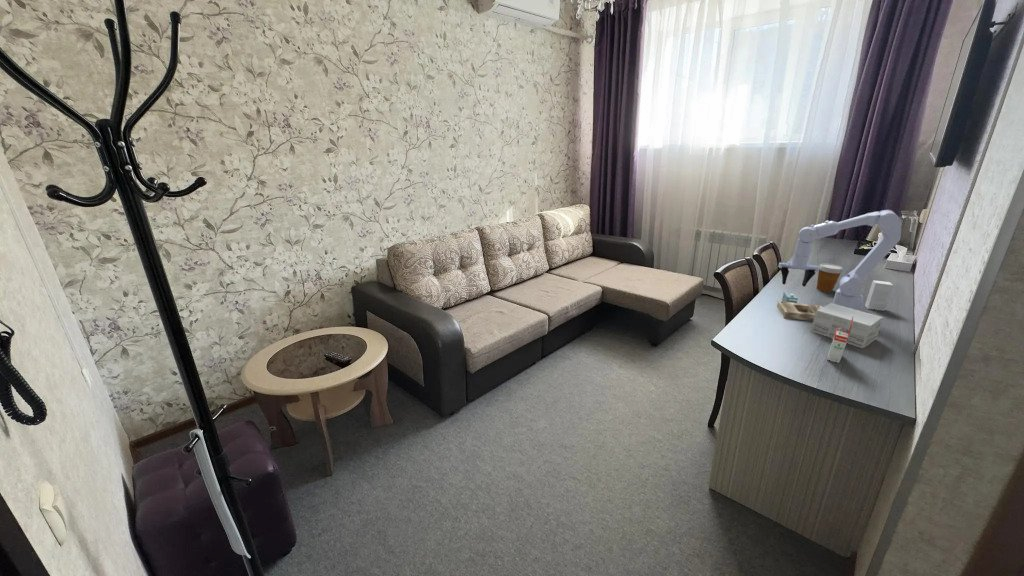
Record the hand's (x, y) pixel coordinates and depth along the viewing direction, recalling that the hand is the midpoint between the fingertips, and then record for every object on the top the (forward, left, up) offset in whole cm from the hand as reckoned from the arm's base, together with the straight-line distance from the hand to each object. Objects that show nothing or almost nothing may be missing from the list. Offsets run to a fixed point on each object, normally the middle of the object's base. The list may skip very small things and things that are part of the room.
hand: (793, 284), depth 182 cm
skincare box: (-34, -6, -9) cm, 36 cm away
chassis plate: (-2, +12, -9) cm, 15 cm away
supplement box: (-11, +29, -9) cm, 32 cm away
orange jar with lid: (-21, -25, -9) cm, 34 cm away
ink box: (-2, +49, -9) cm, 50 cm away
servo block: (0, 0, -9) cm, 9 cm away
